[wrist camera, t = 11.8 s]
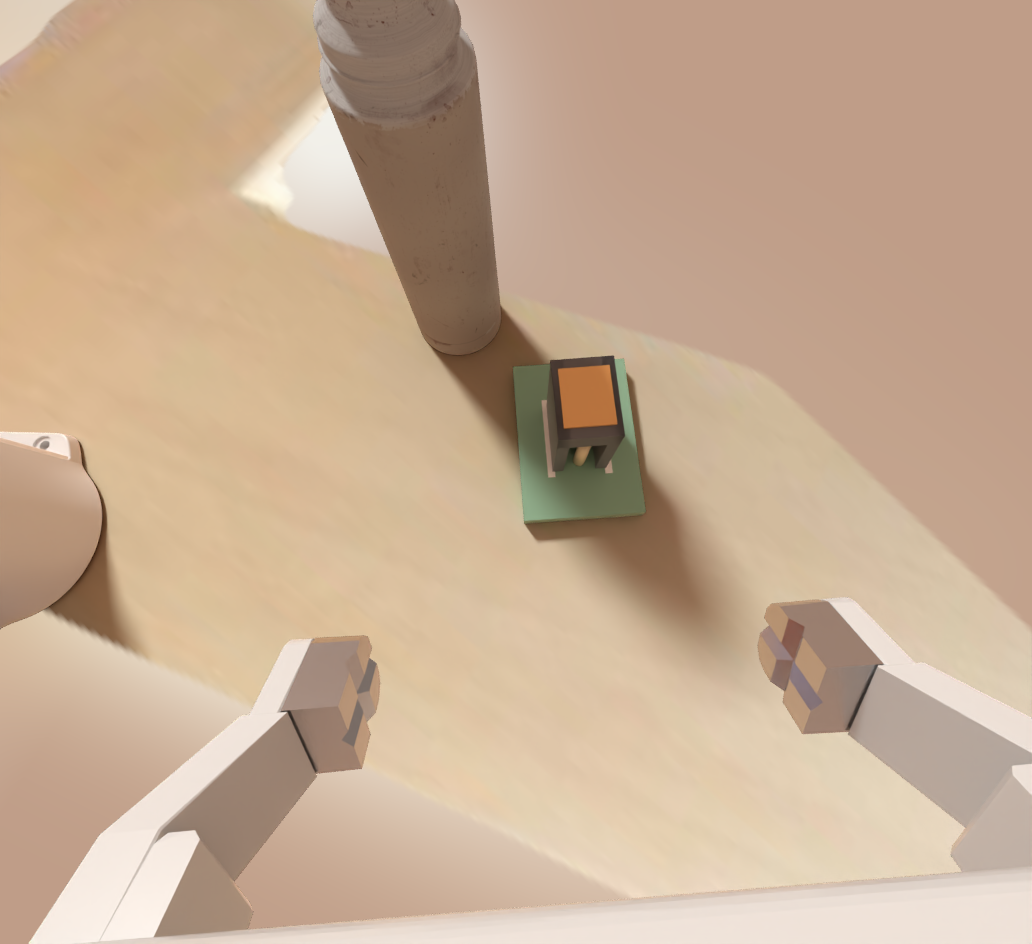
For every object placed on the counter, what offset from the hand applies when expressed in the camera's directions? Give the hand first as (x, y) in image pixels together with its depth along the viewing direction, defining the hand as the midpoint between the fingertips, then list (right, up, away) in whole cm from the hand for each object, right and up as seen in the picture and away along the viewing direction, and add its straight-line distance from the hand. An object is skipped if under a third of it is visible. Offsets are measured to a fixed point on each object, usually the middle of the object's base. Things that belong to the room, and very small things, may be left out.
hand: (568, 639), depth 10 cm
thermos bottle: (-6, +18, +36) cm, 40 cm away
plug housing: (+4, +7, +30) cm, 31 cm away
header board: (+4, +6, +32) cm, 33 cm away
